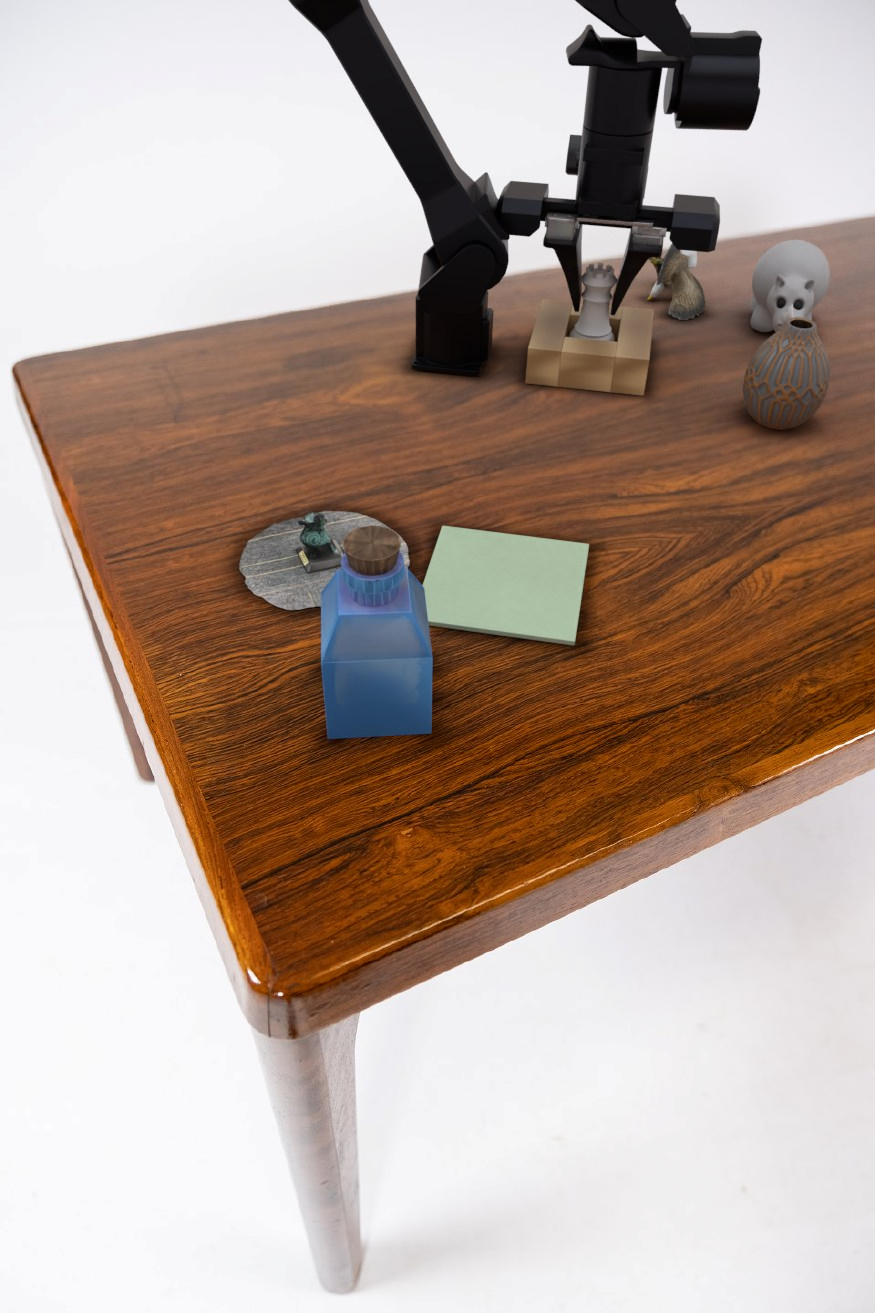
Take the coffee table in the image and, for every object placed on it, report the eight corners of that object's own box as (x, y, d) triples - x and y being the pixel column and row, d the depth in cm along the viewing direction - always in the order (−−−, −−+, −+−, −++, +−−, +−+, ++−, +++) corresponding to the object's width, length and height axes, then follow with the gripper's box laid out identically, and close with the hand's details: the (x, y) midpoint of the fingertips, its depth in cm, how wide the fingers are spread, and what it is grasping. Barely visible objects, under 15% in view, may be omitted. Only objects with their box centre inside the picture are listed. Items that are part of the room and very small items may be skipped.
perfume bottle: (327, 667, 65) (314, 511, 57) (423, 663, 65) (424, 507, 57) (327, 738, 60) (314, 580, 52) (431, 733, 61) (433, 575, 53)
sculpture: (206, 573, 72) (245, 467, 72) (284, 591, 80) (320, 497, 79) (332, 633, 67) (375, 519, 66) (403, 646, 75) (442, 545, 74)
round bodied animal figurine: (736, 358, 97) (756, 270, 92) (744, 307, 106) (763, 224, 100) (813, 369, 96) (838, 280, 90) (815, 317, 104) (839, 233, 99)
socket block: (525, 383, 93) (527, 347, 91) (539, 332, 101) (542, 298, 98) (643, 395, 92) (649, 359, 89) (648, 343, 99) (654, 308, 97)
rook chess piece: (618, 346, 97) (629, 262, 91) (608, 367, 93) (620, 281, 88) (572, 339, 98) (581, 255, 92) (561, 359, 95) (569, 274, 89)
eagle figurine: (612, 276, 109) (640, 294, 101) (653, 214, 106) (684, 228, 98) (666, 312, 112) (696, 333, 104) (706, 253, 109) (740, 270, 101)
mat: (411, 623, 68) (411, 618, 68) (442, 529, 76) (442, 525, 76) (574, 646, 67) (575, 641, 66) (588, 548, 75) (589, 543, 74)
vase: (819, 443, 86) (849, 345, 80) (736, 433, 87) (759, 336, 81) (813, 403, 91) (841, 309, 85) (735, 395, 92) (757, 301, 86)
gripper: (733, 107, 87) (699, 286, 97) (517, 92, 89) (507, 268, 100) (736, 146, 79) (698, 336, 89) (498, 128, 81) (489, 316, 92)
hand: (595, 311), depth 93 cm, fingers closed on rook chess piece, 3 cm apart
